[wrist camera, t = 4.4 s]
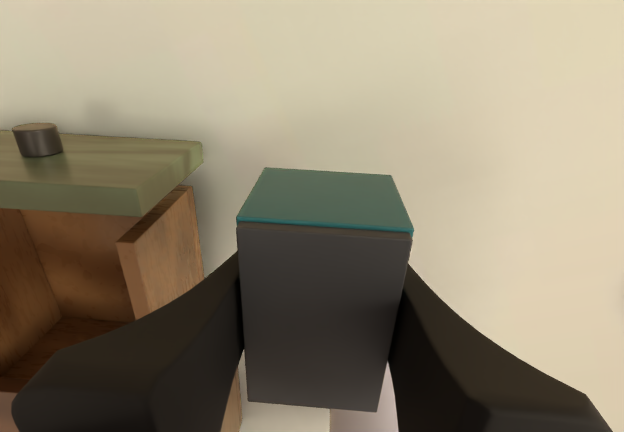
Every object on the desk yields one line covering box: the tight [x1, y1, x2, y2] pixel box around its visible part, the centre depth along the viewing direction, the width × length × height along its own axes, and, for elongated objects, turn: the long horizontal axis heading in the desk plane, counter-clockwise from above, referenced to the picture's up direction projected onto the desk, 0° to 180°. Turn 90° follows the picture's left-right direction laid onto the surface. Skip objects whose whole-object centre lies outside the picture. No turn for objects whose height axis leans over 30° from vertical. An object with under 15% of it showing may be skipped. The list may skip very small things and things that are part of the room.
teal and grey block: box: [236, 168, 414, 413], centre depth 12 cm, size 7×5×4 cm, turn 178°
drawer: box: [0, 123, 204, 380], centre depth 18 cm, size 15×12×7 cm
